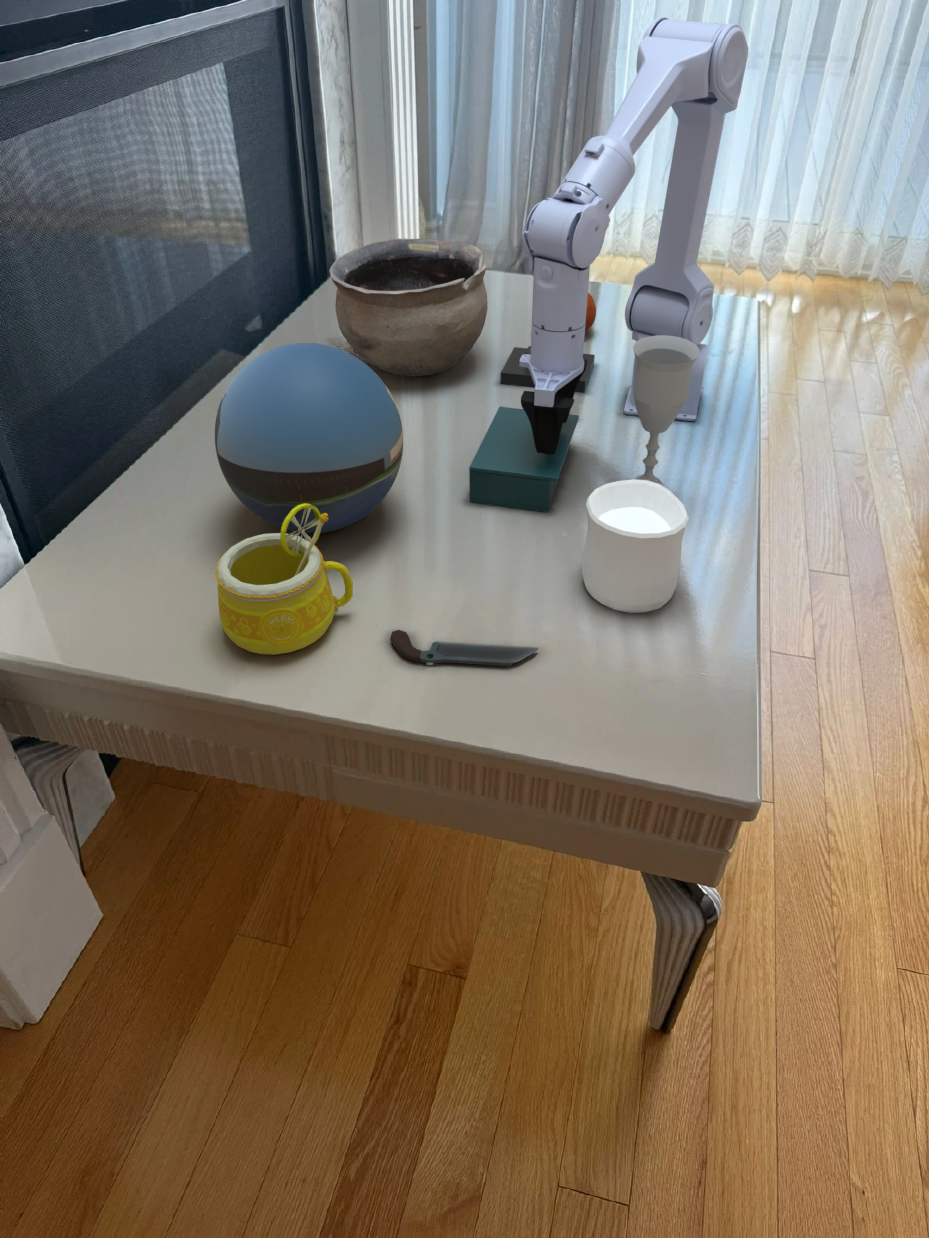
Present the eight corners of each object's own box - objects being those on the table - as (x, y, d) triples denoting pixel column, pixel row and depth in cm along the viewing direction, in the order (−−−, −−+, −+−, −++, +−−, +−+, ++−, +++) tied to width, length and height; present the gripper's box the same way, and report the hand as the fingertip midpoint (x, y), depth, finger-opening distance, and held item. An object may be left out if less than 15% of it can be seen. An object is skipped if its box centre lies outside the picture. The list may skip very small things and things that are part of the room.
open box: (570, 448, 113) (572, 418, 111) (547, 512, 102) (549, 481, 100) (498, 439, 115) (499, 410, 113) (469, 502, 104) (469, 471, 101)
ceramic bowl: (475, 402, 123) (474, 293, 114) (321, 392, 126) (308, 285, 116) (496, 337, 140) (497, 238, 130) (360, 330, 143) (351, 232, 133)
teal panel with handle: (578, 418, 111) (581, 385, 108) (556, 481, 99) (559, 446, 97) (499, 410, 113) (499, 377, 110) (469, 471, 101) (468, 436, 99)
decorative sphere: (207, 563, 95) (165, 388, 83) (264, 469, 110) (236, 308, 97) (388, 577, 93) (373, 399, 80) (421, 479, 108) (413, 316, 95)
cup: (611, 546, 97) (620, 467, 91) (694, 581, 92) (710, 501, 86) (560, 589, 91) (566, 508, 85) (646, 629, 86) (659, 546, 80)
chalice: (674, 518, 101) (699, 367, 89) (613, 512, 102) (630, 361, 90) (675, 484, 106) (699, 337, 95) (618, 479, 108) (634, 333, 96)
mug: (228, 674, 82) (202, 569, 74) (220, 602, 90) (196, 500, 83) (366, 648, 85) (355, 544, 77) (347, 580, 93) (335, 480, 85)
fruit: (541, 330, 142) (543, 279, 137) (579, 323, 144) (583, 272, 139) (563, 346, 137) (566, 294, 132) (602, 338, 139) (607, 287, 134)
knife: (385, 661, 83) (385, 656, 83) (392, 633, 86) (392, 628, 86) (537, 670, 82) (537, 665, 81) (539, 642, 85) (539, 636, 85)
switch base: (593, 365, 132) (595, 342, 130) (584, 392, 125) (586, 368, 123) (514, 357, 134) (514, 335, 132) (500, 383, 128) (500, 360, 125)
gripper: (534, 294, 102) (530, 404, 111) (507, 345, 91) (504, 462, 100) (596, 299, 101) (587, 410, 109) (576, 351, 90) (567, 470, 99)
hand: (552, 436), depth 105 cm, fingers open, 7 cm apart
